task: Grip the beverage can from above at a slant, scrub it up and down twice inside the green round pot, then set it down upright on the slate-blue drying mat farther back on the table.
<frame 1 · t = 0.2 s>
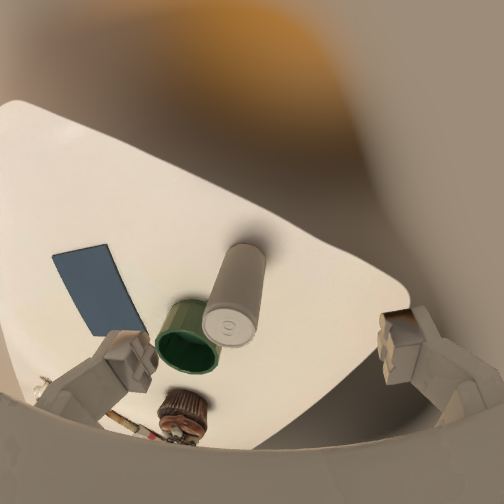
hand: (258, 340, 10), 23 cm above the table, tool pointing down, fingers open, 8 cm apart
cupcake: (187, 400, 51), on the table
elephant figurine: (51, 384, 60), on the table
beverage can: (245, 259, 35), on the table
green round pot: (197, 323, 41), on the table
drying mat: (98, 296, 41), on the table
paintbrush: (137, 424, 61), on the table
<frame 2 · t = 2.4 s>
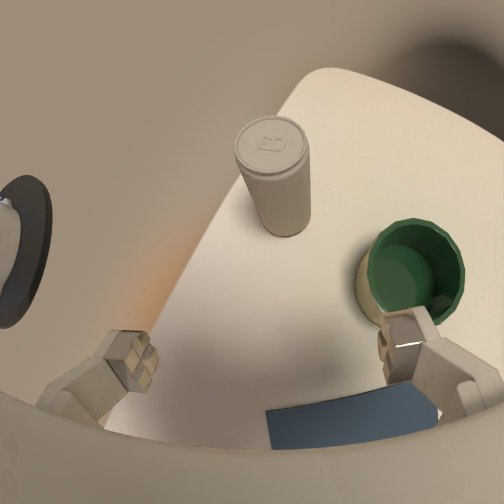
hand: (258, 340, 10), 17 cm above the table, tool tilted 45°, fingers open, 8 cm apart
beverage can: (286, 215, 29), on the table
green round pot: (397, 285, 25), on the table
drying mat: (360, 451, 21), on the table
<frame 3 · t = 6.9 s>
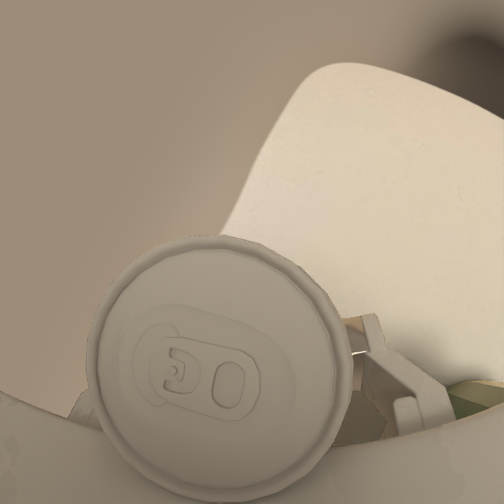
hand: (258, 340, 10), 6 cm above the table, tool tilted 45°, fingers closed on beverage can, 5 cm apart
beverage can: (283, 351, 15), on the table, touching gripper
green round pot: (457, 445, 11), on the table
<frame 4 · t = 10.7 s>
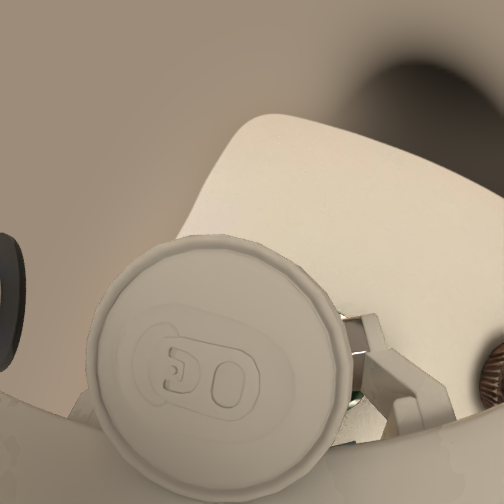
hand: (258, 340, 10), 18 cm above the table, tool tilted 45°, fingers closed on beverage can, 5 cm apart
beverage can: (283, 351, 15), point 12 cm above the table, touching gripper
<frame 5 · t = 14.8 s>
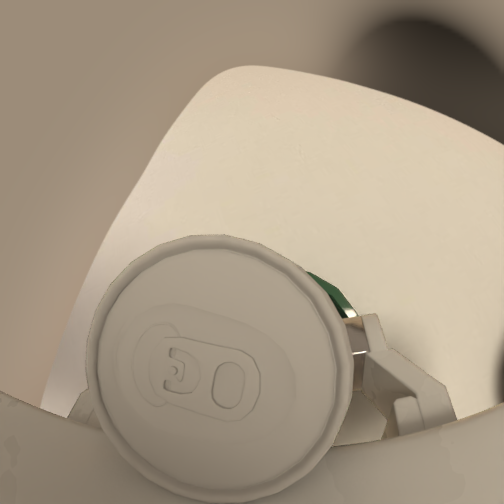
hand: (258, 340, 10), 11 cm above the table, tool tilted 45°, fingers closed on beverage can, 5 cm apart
beverage can: (283, 351, 15), point 4 cm above the table, touching gripper
green round pot: (289, 348, 19), on the table
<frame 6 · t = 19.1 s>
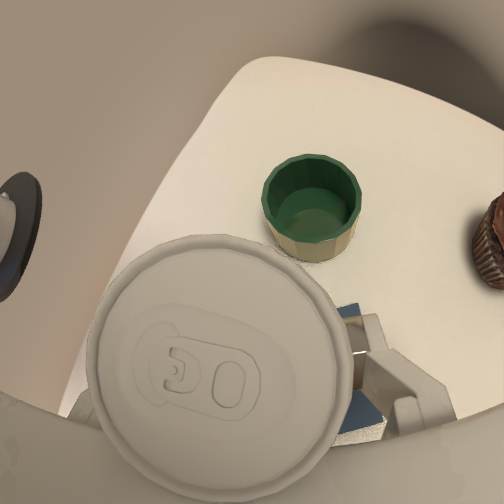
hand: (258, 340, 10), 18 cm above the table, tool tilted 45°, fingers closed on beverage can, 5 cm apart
cupcake: (497, 254, 24), on the table
beverage can: (283, 351, 15), point 12 cm above the table, touching gripper
green round pot: (313, 222, 30), on the table
drying mat: (288, 385, 26), on the table
when the fingers open (7 cm above the table, at t = 23.1 s): beverage can stays where it is, resting on drying mat.
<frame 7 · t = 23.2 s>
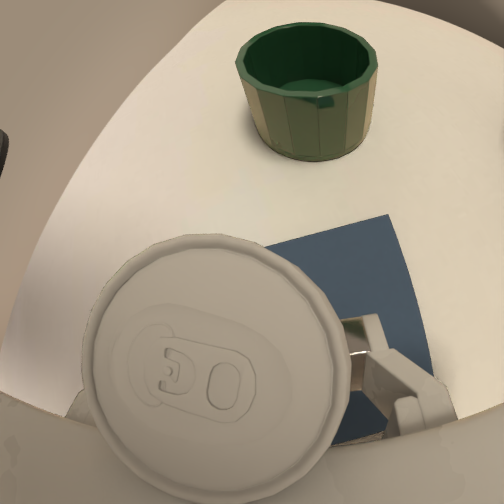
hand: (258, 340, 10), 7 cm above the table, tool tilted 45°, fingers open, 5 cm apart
beverage can: (282, 352, 15), resting on drying mat
green round pot: (312, 116, 20), on the table
drying mat: (282, 351, 16), on the table
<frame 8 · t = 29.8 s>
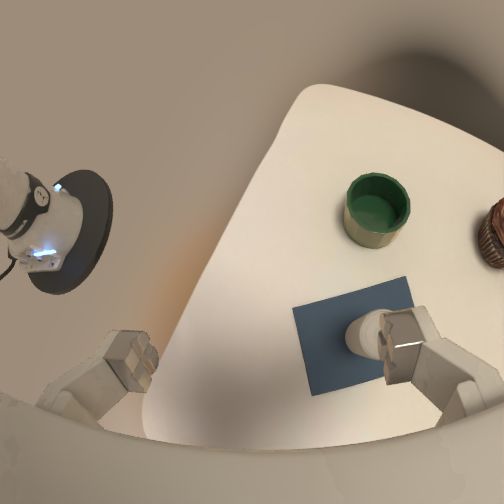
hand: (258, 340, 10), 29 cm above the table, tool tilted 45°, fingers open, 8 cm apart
cupcake: (495, 244, 34), on the table
beverage can: (362, 336, 35), resting on drying mat
green round pot: (371, 220, 40), on the table
drying mat: (362, 336, 35), on the table
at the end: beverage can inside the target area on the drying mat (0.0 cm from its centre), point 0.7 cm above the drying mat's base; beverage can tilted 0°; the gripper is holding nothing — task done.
